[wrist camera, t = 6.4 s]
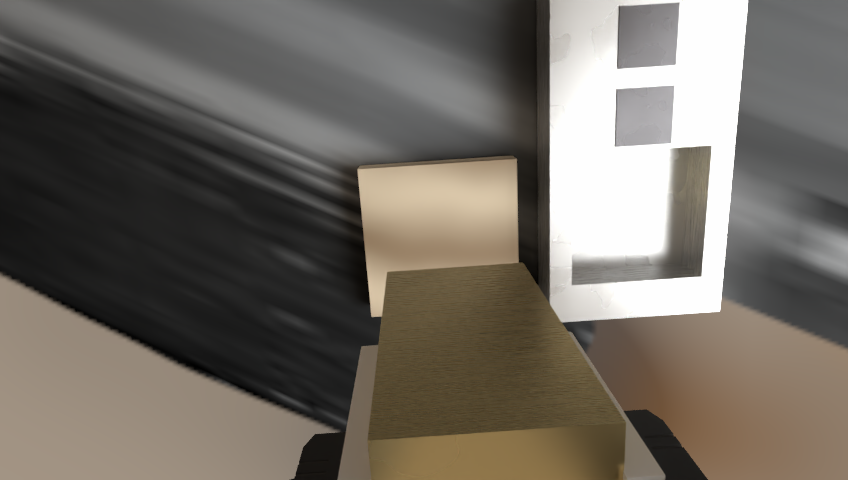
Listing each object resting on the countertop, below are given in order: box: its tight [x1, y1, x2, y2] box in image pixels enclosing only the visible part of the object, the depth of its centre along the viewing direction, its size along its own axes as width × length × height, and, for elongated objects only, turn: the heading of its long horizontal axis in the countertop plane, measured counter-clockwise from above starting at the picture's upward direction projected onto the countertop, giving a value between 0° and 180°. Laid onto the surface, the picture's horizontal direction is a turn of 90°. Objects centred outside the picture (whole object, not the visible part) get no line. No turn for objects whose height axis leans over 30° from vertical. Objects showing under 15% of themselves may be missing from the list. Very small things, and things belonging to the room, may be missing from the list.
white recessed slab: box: [536, 0, 748, 322], centre depth 31 cm, size 18×10×3 cm, turn 4°
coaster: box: [357, 156, 519, 317], centre depth 33 cm, size 9×9×2 cm
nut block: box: [367, 263, 626, 480], centre depth 16 cm, size 5×5×10 cm
